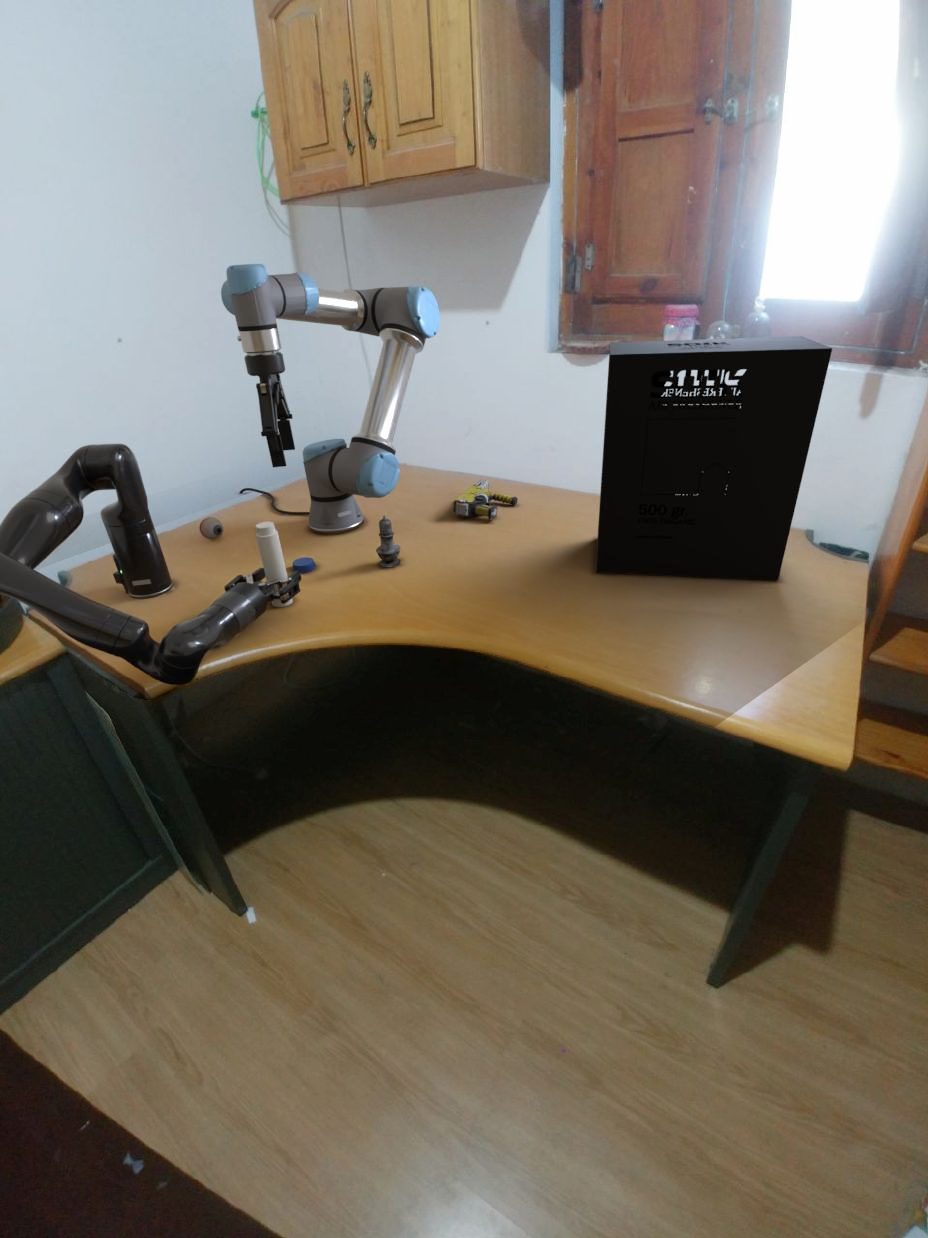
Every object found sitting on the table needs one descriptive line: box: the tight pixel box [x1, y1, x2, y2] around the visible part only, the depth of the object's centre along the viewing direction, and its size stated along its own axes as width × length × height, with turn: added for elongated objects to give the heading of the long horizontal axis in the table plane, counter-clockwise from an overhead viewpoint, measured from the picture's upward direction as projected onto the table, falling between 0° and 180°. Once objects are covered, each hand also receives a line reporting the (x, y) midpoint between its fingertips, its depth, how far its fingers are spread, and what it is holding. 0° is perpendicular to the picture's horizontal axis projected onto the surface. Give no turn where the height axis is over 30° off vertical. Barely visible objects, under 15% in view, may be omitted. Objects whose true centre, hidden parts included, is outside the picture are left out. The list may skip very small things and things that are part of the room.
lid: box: [292, 556, 316, 574], centre depth 145 cm, size 5×5×2 cm
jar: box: [255, 521, 294, 608], centre depth 126 cm, size 4×4×18 cm
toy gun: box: [452, 479, 518, 521], centre depth 175 cm, size 5×24×15 cm
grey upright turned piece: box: [375, 515, 402, 568], centre depth 142 cm, size 6×6×12 cm
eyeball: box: [198, 516, 224, 541], centre depth 163 cm, size 6×6×6 cm
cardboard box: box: [595, 335, 833, 581], centre depth 128 cm, size 38×20×45 cm, turn 78°
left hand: (281, 573), depth 129 cm, fingers open, 8 cm apart
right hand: (284, 457), depth 132 cm, fingers open, 13 cm apart
